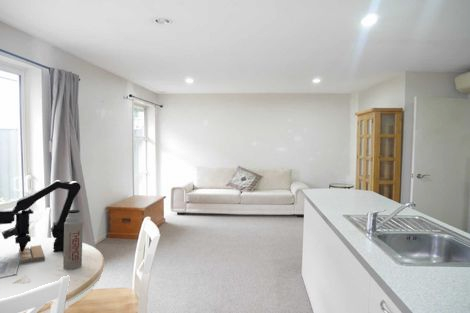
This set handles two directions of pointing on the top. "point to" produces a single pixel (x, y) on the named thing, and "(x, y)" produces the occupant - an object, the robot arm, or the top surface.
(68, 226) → the thermos bottle
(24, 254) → the plank
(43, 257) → the floor panel
